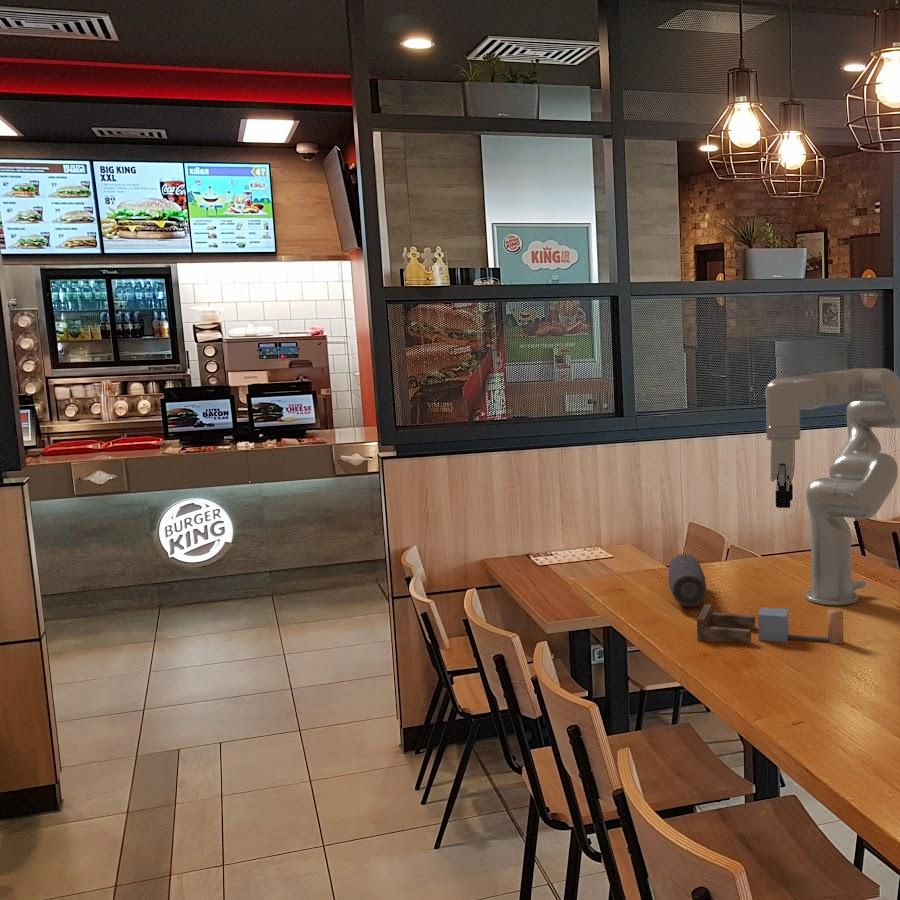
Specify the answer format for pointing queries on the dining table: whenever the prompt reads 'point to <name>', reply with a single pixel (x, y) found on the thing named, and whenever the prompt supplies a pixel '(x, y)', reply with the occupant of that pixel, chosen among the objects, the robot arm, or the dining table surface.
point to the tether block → (777, 626)
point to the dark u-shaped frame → (724, 626)
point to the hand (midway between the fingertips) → (784, 503)
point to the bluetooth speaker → (687, 580)
